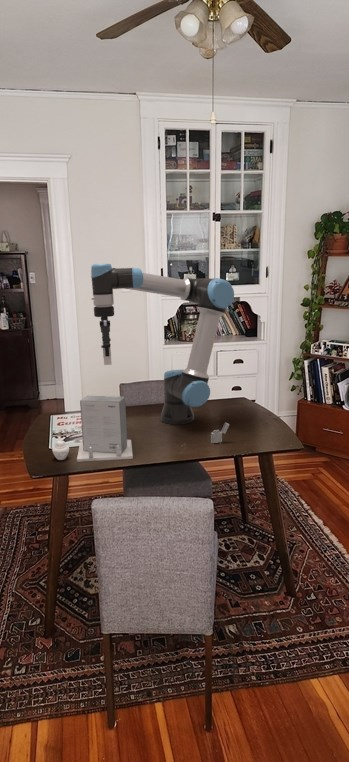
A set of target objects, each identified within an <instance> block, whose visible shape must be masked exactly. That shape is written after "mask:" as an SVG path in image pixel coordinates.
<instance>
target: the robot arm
mask: <svg viewBox="0 0 349 762" xmlns="http://www.w3.org/2000/svg"><path fill="white" fill-rule="evenodd" d="M90 269H91V271H90V273H91V275H90V278H91V288H92V296H93V297H91V301H93V306H94V307H93V315H94V317H95V318H100V320H99V327H100V333H101V334H102V335H101V339H102V342H101V343H102V345H100V346H101V349H102V353H103V354H102V356H103V364H104V365H103V366H111V365H112V364H113V363H112V351H111V341H112V340H111V338H110V333H111V320H109V317H114V316H115V306H114V304H115V302H114V291H113V290H120V289H122V290H123V289H124V290H131V291H138V292H143V293H144V292H145V293H150V294H157V295H163V296H170V297H177V298H180V300H182V301H187V302H190V303H194V304H197V310H198V312H199V317H198V321H197V324H196V327H195V333H194V337H193V341H192V345H191V350H190V355H189V358H188V362H187V365H186V368H185V369H172V370H167V371H165V372H164V374H163V389H164V392H163V393H164V404H163V407H162V410H161V414H160V420H161V422H162V423H165V424H168V425H186V424H190V423H192V422H194V421H195V413H194V410H193V408H198V407H201V406H203V405H205V404H206V403H207V402H208V400H209V399H210V396H211V388H210V386H209V384H208V383H209V379H210V376H209V375H208V369H209V364H210V360H211V355H212V352H213V348H214V344H215V339H216V336H217V331H218V328H219V323H220V319H221V317H223V316H224V315H225V314H226V310H227V308H229V306H230V305H232V303H233V302H234V299H235V290H234V288H233V286H232V284H231V283H230V282H229V281H228V280H226V279H224V278H223V279H222V278H218V277H217V278H208V277H207V278H205V277H204V278H191V277H184V278H183V279H180V278H175V277H169V276H164V275H163V276H162V275H158V274H152V273H146V272H145V273H144V272H143V271H142V269H141V268H139V267H121V268H120V267H119V268H117V267H112V264H111V263H93V264H92V265H91V267H90ZM192 407H193V408H192ZM193 420H194V421H193Z"/></svg>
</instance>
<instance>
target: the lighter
mask: <svg viewBox="0 0 349 762" xmlns="http://www.w3.org/2000/svg"><path fill="white" fill-rule="evenodd" d="M229 427H230V424H229V423H228V422H224V424H223V426H222V429H221V430H219V429H214V430H213V431H212V432H210V444H211V443H218V442H222V443H223V434H224V435H226V433H227V431H228V429H229Z"/></svg>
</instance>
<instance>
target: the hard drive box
mask: <svg viewBox="0 0 349 762" xmlns="http://www.w3.org/2000/svg"><path fill="white" fill-rule="evenodd" d="M79 402H80V405H79V406H80V420H81V434H82V435H81V436H82V442H83V451H89V450H88V447H89V446H93V452H110V453H116V445H121V453H122V452H123V451H124V450H125V448H126V447H127V440H128V438H127V437H128V434H127V433H128V432H127V413H126V396H120V395H119V396H115V395H86V396H84V397H83V398H81V399H80V400H79Z"/></svg>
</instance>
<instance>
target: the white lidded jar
mask: <svg viewBox="0 0 349 762" xmlns="http://www.w3.org/2000/svg"><path fill="white" fill-rule="evenodd" d="M54 444H55V445H54V446H53V447H52V450H51V451H52V453H53V455H54V457H55V458H56V459H57V460H58V461H63V460H66V459H67V457H68V455H69V452H70V447H69V445H67V443H66V442H65V441H64V440H57V441H55V443H54Z"/></svg>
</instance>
